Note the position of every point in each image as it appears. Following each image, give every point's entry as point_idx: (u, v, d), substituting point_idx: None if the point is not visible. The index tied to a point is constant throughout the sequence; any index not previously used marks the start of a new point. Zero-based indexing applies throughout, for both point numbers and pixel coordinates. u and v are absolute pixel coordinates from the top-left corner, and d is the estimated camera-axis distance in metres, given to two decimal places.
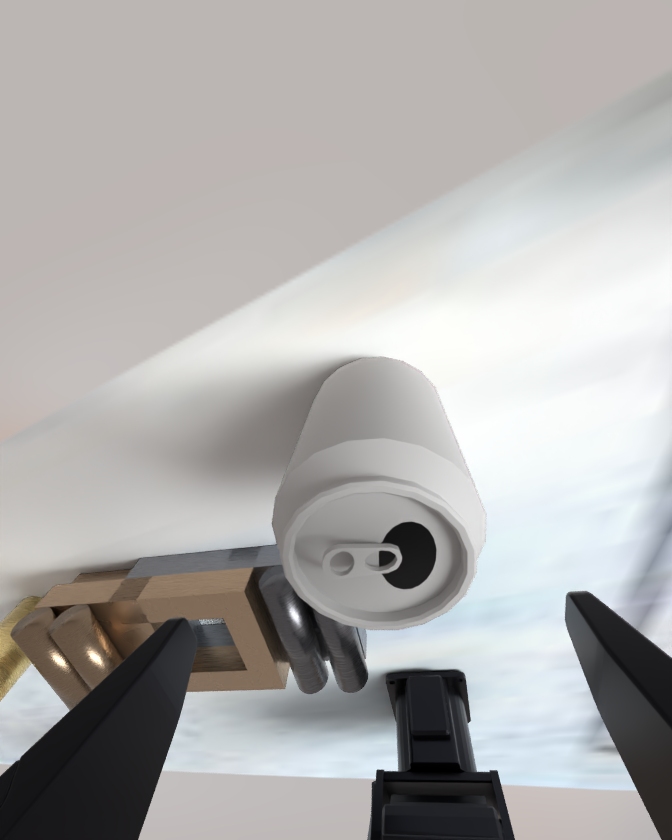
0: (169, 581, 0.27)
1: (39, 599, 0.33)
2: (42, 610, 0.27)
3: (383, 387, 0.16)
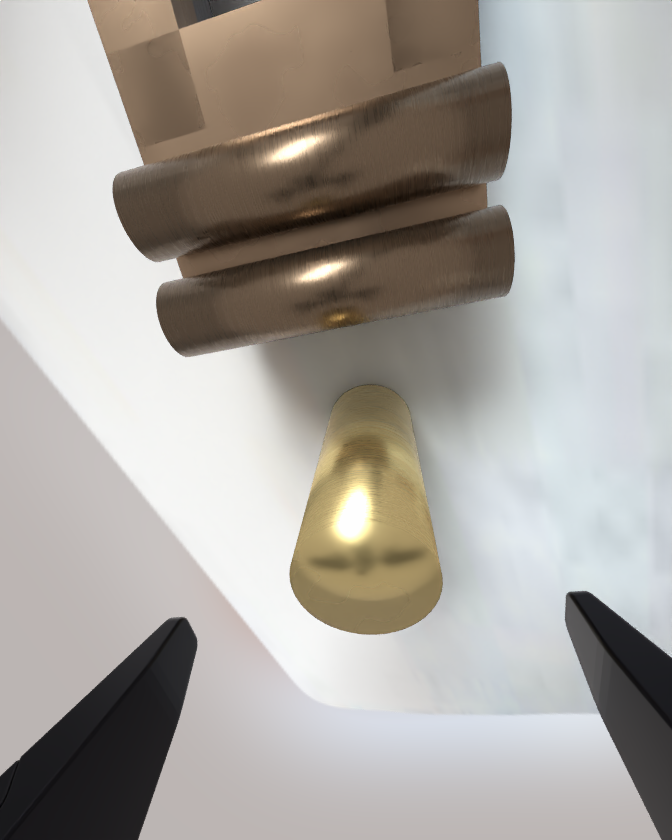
0: None
1: (331, 413, 0.19)
2: None
3: None
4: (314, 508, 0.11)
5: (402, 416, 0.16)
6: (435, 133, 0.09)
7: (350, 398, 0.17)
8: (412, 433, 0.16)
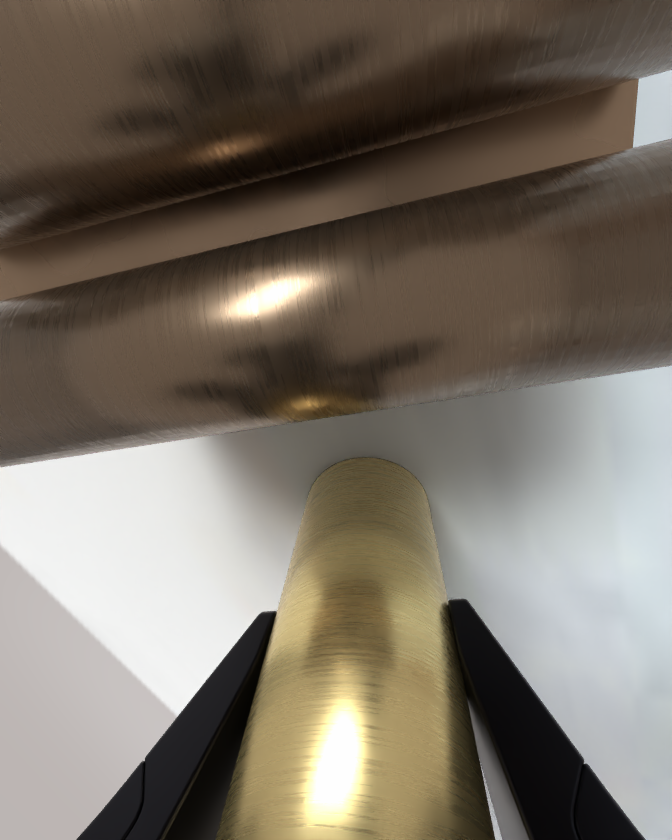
0: None
1: (308, 496, 0.12)
2: None
3: None
4: None
5: (419, 526, 0.10)
6: None
7: (335, 486, 0.11)
8: (436, 557, 0.10)
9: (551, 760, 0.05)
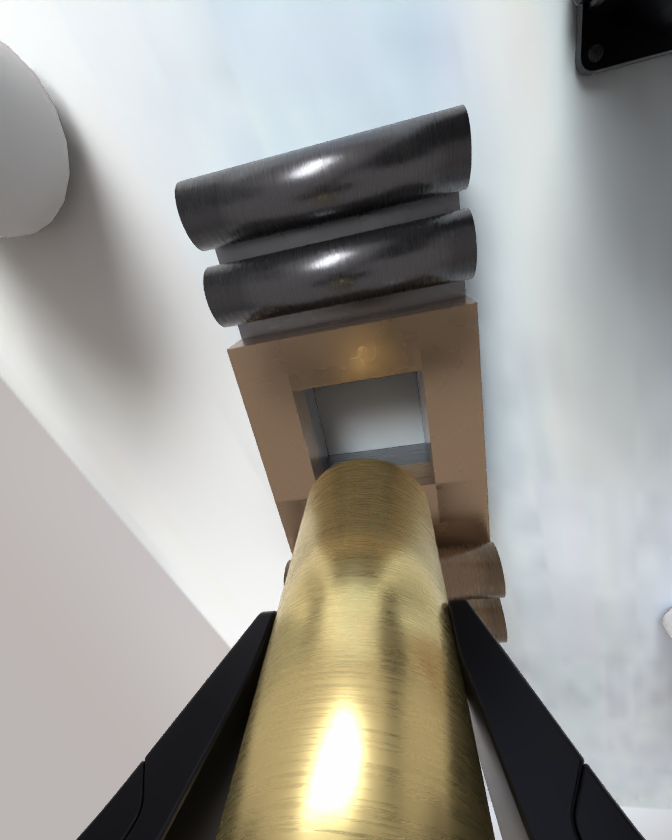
0: None
1: None
2: None
3: None
4: None
5: (419, 527, 0.10)
6: (465, 593, 0.17)
7: (335, 486, 0.11)
8: (437, 558, 0.10)
9: (551, 760, 0.05)
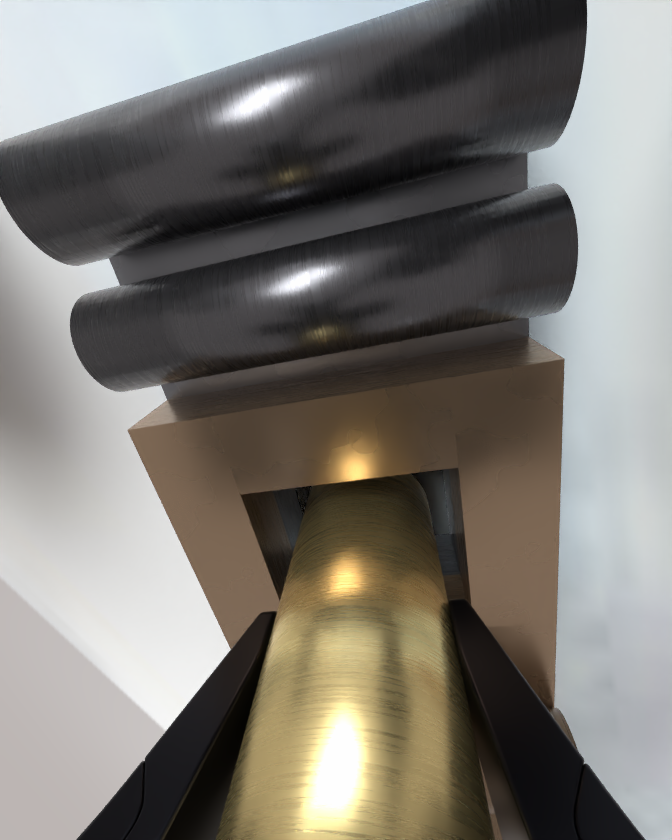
0: None
1: None
2: None
3: None
4: None
5: (419, 527, 0.10)
6: None
7: (335, 487, 0.11)
8: (437, 558, 0.10)
9: (551, 760, 0.05)
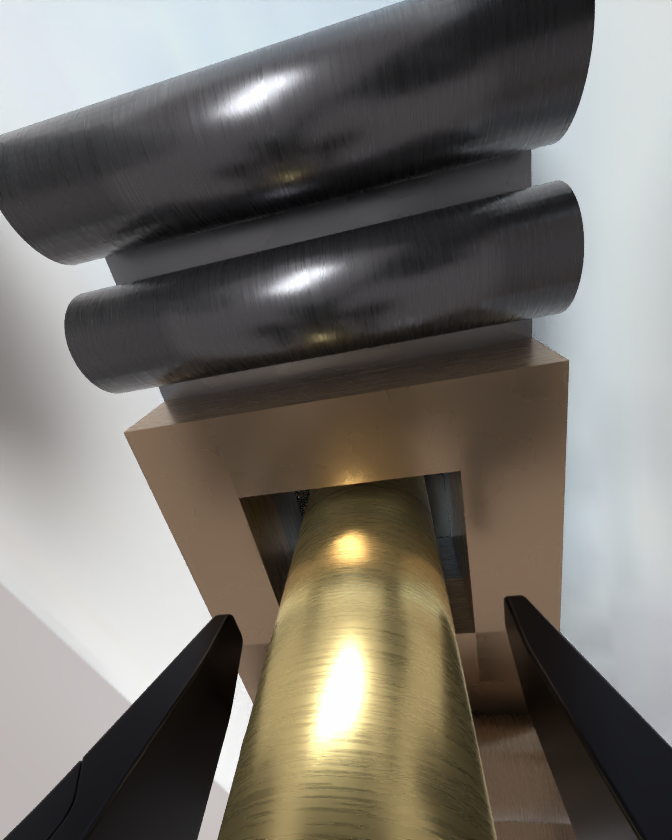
0: None
1: None
2: None
3: None
4: (259, 741, 0.06)
5: (415, 492, 0.11)
6: (527, 819, 0.10)
7: None
8: (430, 518, 0.11)
9: (649, 760, 0.05)
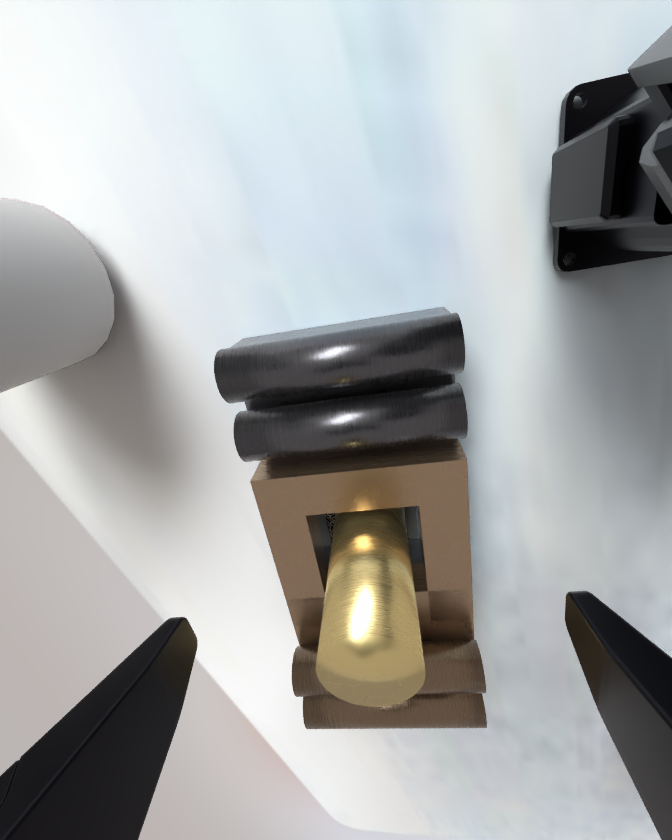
0: None
1: None
2: None
3: None
4: (333, 614, 0.15)
5: (397, 513, 0.20)
6: (451, 690, 0.20)
7: None
8: (405, 528, 0.20)
9: None
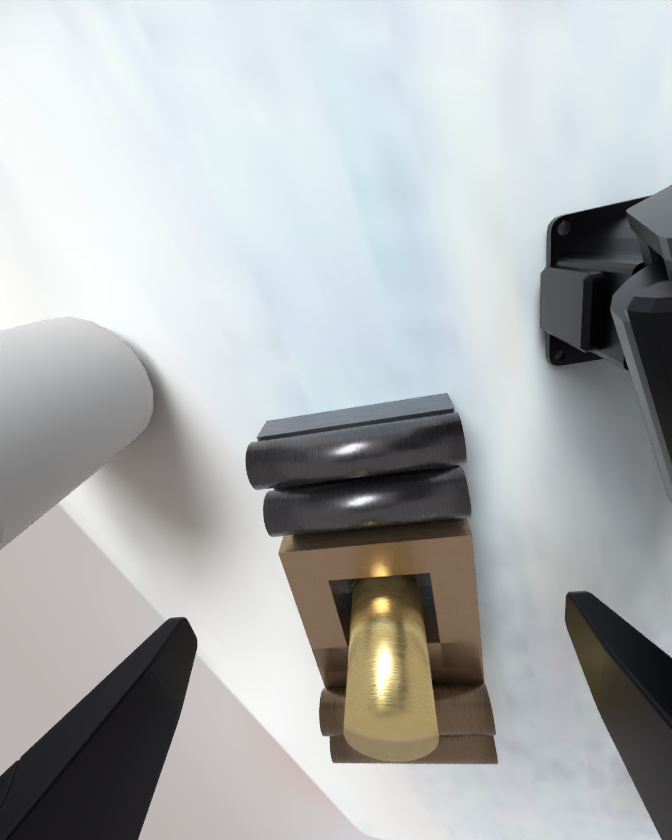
0: None
1: None
2: None
3: None
4: (357, 682, 0.17)
5: None
6: (464, 732, 0.22)
7: None
8: (418, 587, 0.22)
9: None
